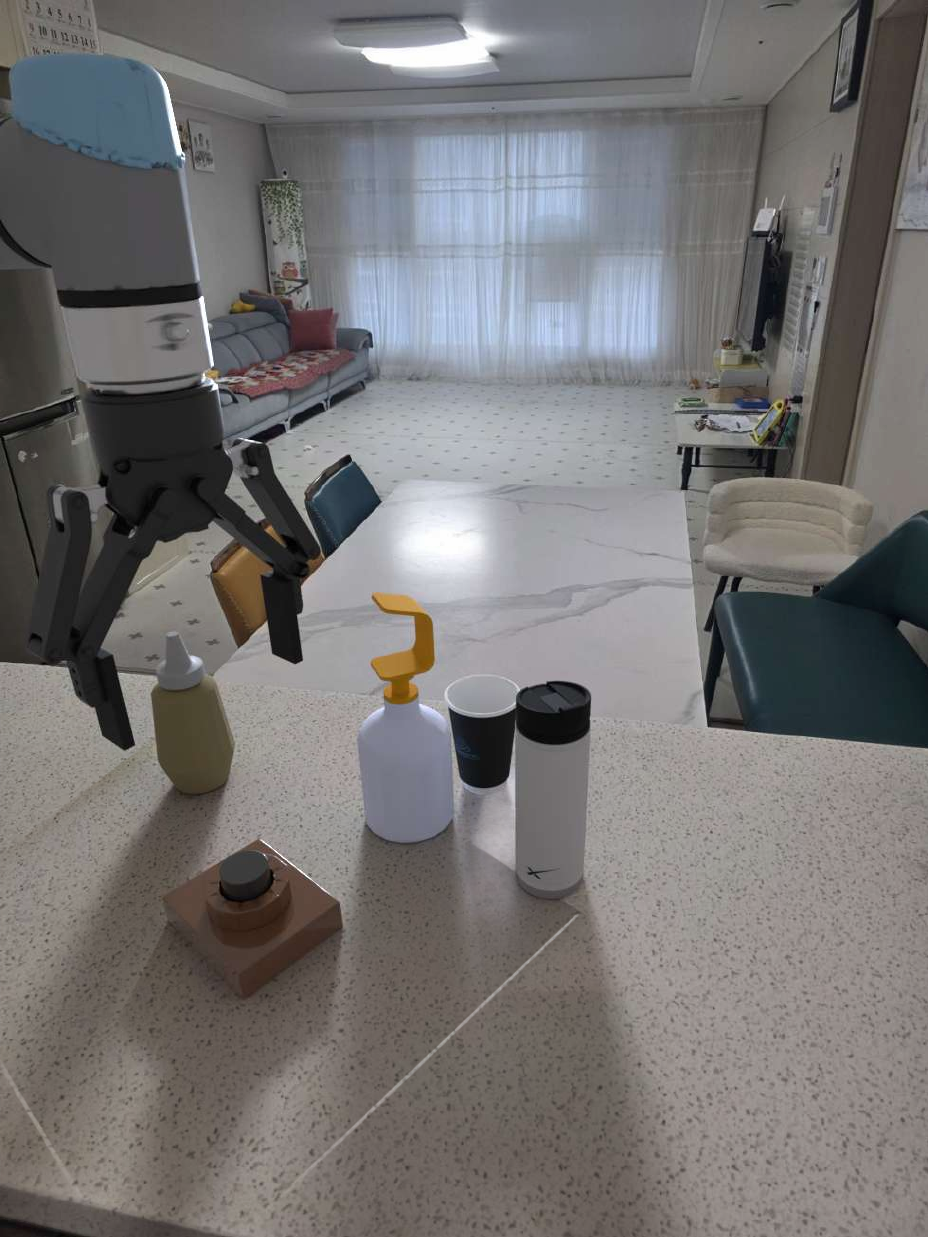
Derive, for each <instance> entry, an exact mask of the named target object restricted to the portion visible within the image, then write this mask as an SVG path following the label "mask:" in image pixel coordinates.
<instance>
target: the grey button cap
mask: <svg viewBox="0 0 928 1237" xmlns="http://www.w3.org/2000/svg"><path fill="white" fill-rule="evenodd" d="M234 853H235V854H234ZM234 853H232V854H233V855H232V854H231V855H229V856H230V857H229V856H227V857H228V858H227V857H226V858H227V859H226V858H225V859H226V860H225V861H224V862H223V863H222V865H221V867H220V870H219V874H220V879H221V884H222V889H223V893H224V895H225V896H226V898H228V899H229V900H231V901H233V902H246V901H250V900H255V899H257V898H259V897H260V896H262V895H263V894H265V893H266V892H267V890H268V889H269V887H270V885H271V875H270V869H269V863H268V859H267V857H266V856H265V855H264V854H263V853H261V852H258V851H253V850H247V851H241V852H238V853H236V852H234Z"/></svg>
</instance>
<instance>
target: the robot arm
mask: <svg viewBox="0 0 928 1237" xmlns="http://www.w3.org/2000/svg"><path fill="white" fill-rule="evenodd" d="M8 83H9V89H10V98H11V105H10V106H11V108H10V111H11V113H12V116H10V117H2V118H0V271H1V270H3V271H5V270H31V269H32V270H33V269H35V270H36V269H52V274H53V278H54V281H55V285H56V295H57V300H58V303H59V304H60V310H61V315H62V319H63V324H64V329H65V333H66V337H67V342H68V347H69V350H70V355H71V359H72V365H73V368H74V372H75V377H76V378H77V379H78V380H80V381H81V382H83V383H85V384H88V385H89V387H87V388H86V389H85V390H84V391H83V392H84V393H83V394H82V396H81V403H82V407H83V411H84V415H85V420H86V425H87V428H88V433H89V437H90V441H91V446H92V450H93V452H94V455H95V458H96V460H97V463H98V469H99V471H98V478H97V483H96V484H89V485H82V486H75V487H68V486H66V485H64V484H59V483H54V484H51V485H50V486H49V487H48V488H47V491H46V493H45V494H46V496H45V498H46V504H47V512H48V517H49V530H48V535H47V540H46V544H45V548H44V554H43V557H42V563H41V566H40V571H39V576H38V581H37V583H36V584H37V585H36V588H35V589H36V590H35V593H34V598H33V603H32V607H31V611H30V617H29V620H28V625H27V630H26V635H25V638H24V647H25V649H26V650H27V652H30V653H31V654H32V655H34V656H36V657H38V658H39V659H40V660H42V661H44V662H45V663H46V664H50V665H58V664H60V663H62V662H65V663H66V665H67V669H68V672H69V676H70V680H71V684H72V687H73V691H74V694H75V696H76V697H77V698H78V700H80V701H81V702H82V703H84V704H85V705H87V706H88V707H89V708H91V709H94V710H95V715H96V717H97V718H96V719H97V721H98V725H99V726H98V727H99V729H100V733H101V736H102V737H103V738H105V739H106V740H107V741H109V742H110V743H112V744H114V745H115V746H116V747H118V748H119V749H121V750H123V751H124V752H125V751H127V750H129V749H131V748H134V747H135V746H136V742H135V737H134V735H133V734H134V733H133V730H132V726H131V722H130V718H129V717H130V716H129V713H128V710H127V705H126V701H125V697H124V694H123V689H122V686H121V681H120V678H119V673H118V668H117V665H116V661H115V658H114V654H113V653H112V652H109V651H107V650H106V649H104V648H102V645H103V643H104V642H105V639H106V638H107V635H108V634H109V631H110V629H111V627H112V625H113V622H114V621H115V619H116V617H117V614H118V612H119V610H120V609H121V606H122V604H123V602H124V600H125V598H126V596H127V593H128V591H129V589H130V587H131V585H132V582H133V580H134V579H135V576H136V574H137V572H138V570H139V568H140V566H141V564H142V562H143V561H144V560H145V559H147V558H149V557H150V555H151V554H152V552H153V550H154V548H155V546H156V544H157V543H158V542H161V543H165V544H167V543H170V542H172V541H176V540H177V539H179V538H180V537H182V536H184V535H185V534H187V533H199V532H203V531H206V530H209V525H210V524H211V523H212V522H213V523H214V524H215V525H216V526H218V527H219V528H221V529H222V530H223V531H224V532H226V533H227V534H228V535H229V536H231V537H232V538H233V539H234V540H235V541H237V542H238V543H239V544H240V545H242V546H243V547H244V548H245V549H246V550H248V551H249V552H251V553H252V554H253V556H255V557H256V558H258V559H259V560H260V561H261V562H262V563H264V564H265V565H266V566H268V567H269V568H270V569H272V572H271V571H269V570H268V571H266V572H263V573H260V574H259V576H260V577H259V578H260V582H261V589H262V596H263V602H264V608H265V609H264V610H265V617H266V622H267V629H268V636H269V637H268V638H269V644H270V648H271V654H272V655H273V656H275V657H277V658H280V659H282V660H284V661H287V662H289V663H290V664H293V665H298V664H300V663H301V662H303V661H304V656H303V648H302V640H301V633H300V626H299V618H298V615H300V614H302V613H303V611H304V610H303V609H304V600H303V592H302V586H301V585H302V584H301V580H304V579H306V578H307V577H308V576H309V575H310V570H311V569H310V568H311V567H310V565H309V563H308V562H309V561H310V560H311V561H316V560H317V559H318V558H320V555H321V552H322V549H321V546H320V544H319V543H318V541H317V540H316V538H315V536H314V535H313V533H312V532H311V530H310V528H309V527H308V525H307V523H306V521H305V520H304V518H303V517H302V515H301V513H300V512H299V510H298V509H297V507H296V505H295V504H294V502H293V500H292V499H291V497H290V496H289V494H288V493H287V491H286V489H285V488H284V486H283V485H282V483H281V481H280V480H279V478H278V476H277V475H276V473H275V469H274V464H273V461H272V460H273V459H272V455H271V451H270V448H269V446H268V445H267V444H266V443H263V442H260V441H256V440H251V439H247V438H242V437H238V438H236V439H234V440H233V442H232V444H231V447H230V448H227V449H225V447H224V445H223V444H224V443H223V441H224V439H225V436H226V428H225V422H224V417H223V410H222V404H221V398H220V391H219V385H218V384H217V383H216V382H215V381H214V380H213V379H212V378H211V377H208V376H206V375H205V374H206V373H209V372H210V371H211V370H212V369H213V367H214V366H215V364H214V357H213V351H212V345H211V339H210V331H209V325H208V319H207V314H206V307H205V301H204V300H205V299H204V292H203V287H202V283H201V278H200V270H199V263H198V257H197V251H196V250H197V249H196V244H195V237H194V236H195V235H194V230H193V224H192V217H191V216H192V215H191V210H190V209H191V208H190V200H189V193H188V184H187V178H186V169H185V167H186V156H185V153H184V152H183V151H182V147H181V142H180V137H179V133H178V129H177V125H176V120H175V115H174V110H173V106H172V102H171V97H170V93H169V89H168V86H167V83H166V82H165V80H164V79H163V77H162V76H161V74H160V73H159V72H158V71H157V70H156V69H155V68H154V67H152V66H151V65H150V64H147V63H145V62H143V61H140V60H138V59H134V58H133V59H132V58H129V57H124V56H117V55H110V54H98V53H77V52H76V53H75V52H73V53H68V52H67V53H63V52H61V53H45V54H34V55H30V56H26V57H22V58H21V59H19V60H18V61H16V62H15V63H14V64H13V66H12V67H11V68H10V70H9V73H8ZM233 474H234V475H235V476H237V477H239V478H240V480H241V482H242V484H243V485H244V486H245V488H246V490H247V492H248V493H249V495H250V496H251V497H252V499H253V500H254V502H255V503H256V505H257V506H258V508H259V509H260V511H261V513H262V514H263V516H264V517H265V519H266V520H267V522H268V523H269V525H270V526H271V528H272V529H273V531H274V532H275V534H276V535H277V537H278V538H279V540H280V542H281V543H282V544H281V543H280V542H279V541H278V540H277V539H275V537H274V536H272V535H271V534H270V533H268V532H267V531H266V530H265V529H264V528H263V527H262V526H260V525H259V524H258V523H257V522H255V520H253V519H252V518H251V517H250V516H249V515H248V514H247V513H246V510H245V509H244V508H243V507H241V506H240V505H239V504H238V503H237V502H236V501H234V500H233V499H232V498H231V497H230V496H229V495H228V494H226V490H227V488H228V486H229V483H230V480H231V478H232V475H233ZM102 507H106V508H107V509H108V510H109V511H110V512H112V513H113V514H112V516H111V518H110V520H109V522H108V524H107V527H106V529H105V531H104V533H103V537H102V540H103V546H102V548H101V550H100V551H99V553H98V556H97V558H96V560H95V562H94V563H93V566H92V569H91V570H90V572H89V575H88V577H87V579H86V581H85V583H84V585H83V579H84V576H85V570H86V566H87V562H88V558H89V553H90V548H91V544H92V534H93V525H94V524H96V523H98V522H99V520H100V515H99V512H100V511H101V510H100V509H101V508H102ZM132 530H133V532H134V534H133V535H132V536H131V537H130V534H131V532H132ZM82 585H83V587H82ZM81 588H82V590H81Z"/></svg>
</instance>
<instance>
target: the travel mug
mask: <svg viewBox="0 0 928 1237" xmlns="http://www.w3.org/2000/svg"><path fill="white" fill-rule="evenodd" d="M591 710H592V693H591V692H590V690H589V689H588V688H587V687H586V686H583V685H582V684H579V683H577V682H573V681H567V680H547V681H546V682H545V683H540V684H534V685H532V686H524V687H523V688H521V689H520V691H519V692H518V693H517V695H516V721H515V734H514V765H515V766H514V767H515V768H514V787H515V788H514V828H515V829H514V839H515V840H514V842H515V843H514V845H515V846H514V853H515V854H514V863H515V864H514V867H515V868H514V871H515V872H514V874H515V875H514V876H515V879H516V881H517V883H518V885H519V886H520V887H521V888H522V890H524V891H525V892H527V893H528V894H529V895H532V896H534V897H535V898H539V899H545V900H559V899H564V898H567V897H568V896H571V895H572V894H574V893H575V892H577V891H578V890H579V888H581V886H582V883H583V882H584V874H585V852H586V834H587V833H586V831H587V812H588V811H587V810H588V792H589V791H588V789H589V788H588V787H589V770H590V769H589V766H590V746H591V712H592V711H591Z"/></svg>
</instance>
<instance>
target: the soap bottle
mask: <svg viewBox="0 0 928 1237" xmlns="http://www.w3.org/2000/svg"><path fill="white" fill-rule="evenodd" d="M371 600H372V601H373V602H374V603H375V604H376V606H377V607H378V609H380V611H381V612H383V613H385V614H390V615H398V616H409V617H414V618H413V620H414V637H415V640H414V644H413V646H411V648H410V649H408V650H407V649H406V650H404V651H400V652H395V653H391V654H386V655H381V656H378V657H377V656H376V657H373V658H372V659H371V660H370V666H371V668H372V670H373V671H374V672H375V674H376V676H377V677H378V678H379V680H381V681H384V682H389V684H388V685H386V686H385V687H384V689H383V691H382V692H383V706H382V707H380V708H378V709H377V710H375V711H373V713H371V714H370V715H369V716H368V717H366V719H365V720H364V721H363V722H362V723H361V726H360V730H359V732H358V735H357V738H356V742H357V753H358V761H359V772H360V781H361V790H362V800H363V810H364V811H363V812H364V817H365V822H366V825H367V826H368V827H369V829H370V830H371V831H372V833H373V834H375V835H376V836H378V837H379V838H382V839H384V840H385V841H389V842H393V843H400V844H406V843H409V844H410V843H419V842H422V841H426V840H429V839H432V838H434V837H435V836H437V835H438V834H440V833H441V832H443V831H445V829H446V828H447V827H448V825H449V824H450V823H451V821H452V820H453V816H454V811H455V801H454V800H455V798H454V796H455V795H454V776H453V773H454V772H453V750H452V733H451V730H450V728H449V725H448V723H447V721H446V719H445V717H444V716H443V715H442V714H440V713H439V712H438V711H437V710H435V709H433V708H431V707H430V706H427V705H425V704H421V703H420V695H419V689H418V686H417V685H416V683H413V682H410V681H411V680H412V679H414V677H415V676H416V675H421V674H425V673H427V672H428V671H429V672H430V670H431V669H432V668H433V667H434V664H435V660H436V658H435V640H434V638H435V636H434V622H433V618H432V617H430V615H429V614H428V613H427V612H426V611H425V610H424V609H423V607H421V606H420V605H419V603H418V602H417V601H416V600H415V599H414V598H413V597H411V596H410V595H406V594H397V593H387V592H373V593H372V594H371Z"/></svg>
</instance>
